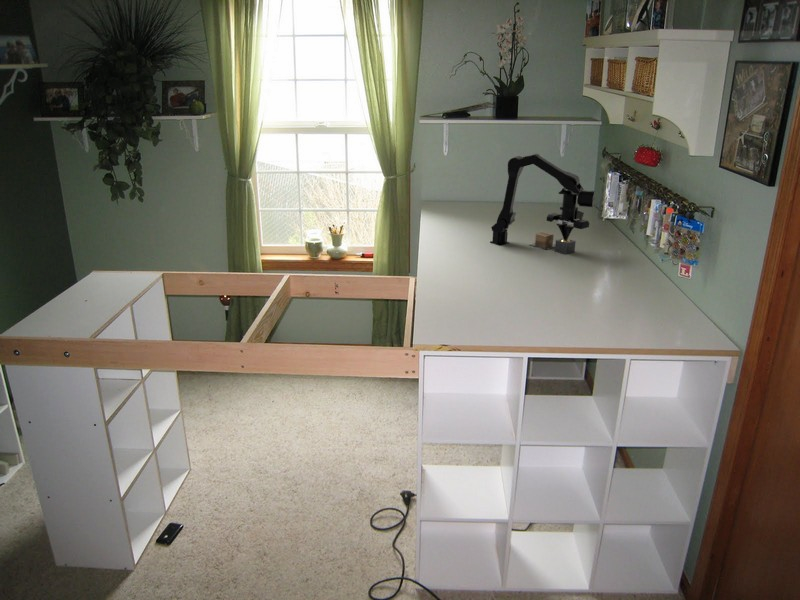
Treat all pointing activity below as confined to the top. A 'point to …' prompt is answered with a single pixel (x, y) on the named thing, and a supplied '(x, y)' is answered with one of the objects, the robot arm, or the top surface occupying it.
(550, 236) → the light brown cube-like block
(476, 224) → the top surface
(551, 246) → the plate
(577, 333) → the top surface
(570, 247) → the press block
